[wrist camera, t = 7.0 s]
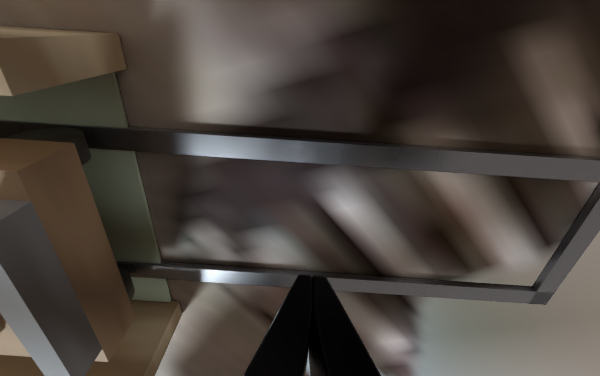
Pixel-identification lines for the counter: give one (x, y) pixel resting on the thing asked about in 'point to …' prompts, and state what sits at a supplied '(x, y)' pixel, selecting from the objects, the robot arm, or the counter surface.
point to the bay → (92, 172)
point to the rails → (365, 154)
